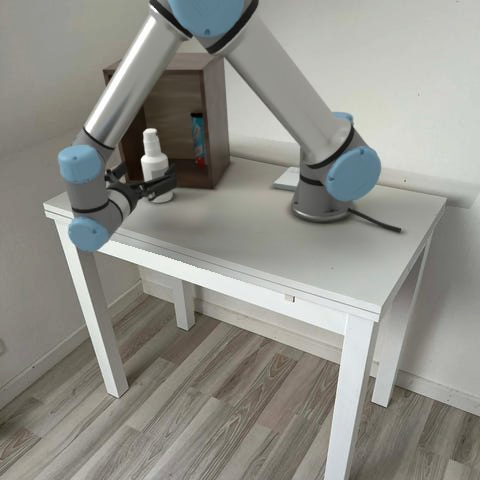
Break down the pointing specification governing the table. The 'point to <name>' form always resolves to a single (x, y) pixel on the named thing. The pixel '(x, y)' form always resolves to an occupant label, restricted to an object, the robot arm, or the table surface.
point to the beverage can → (199, 138)
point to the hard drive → (288, 179)
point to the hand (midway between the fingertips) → (149, 167)
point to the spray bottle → (154, 161)
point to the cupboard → (182, 120)
